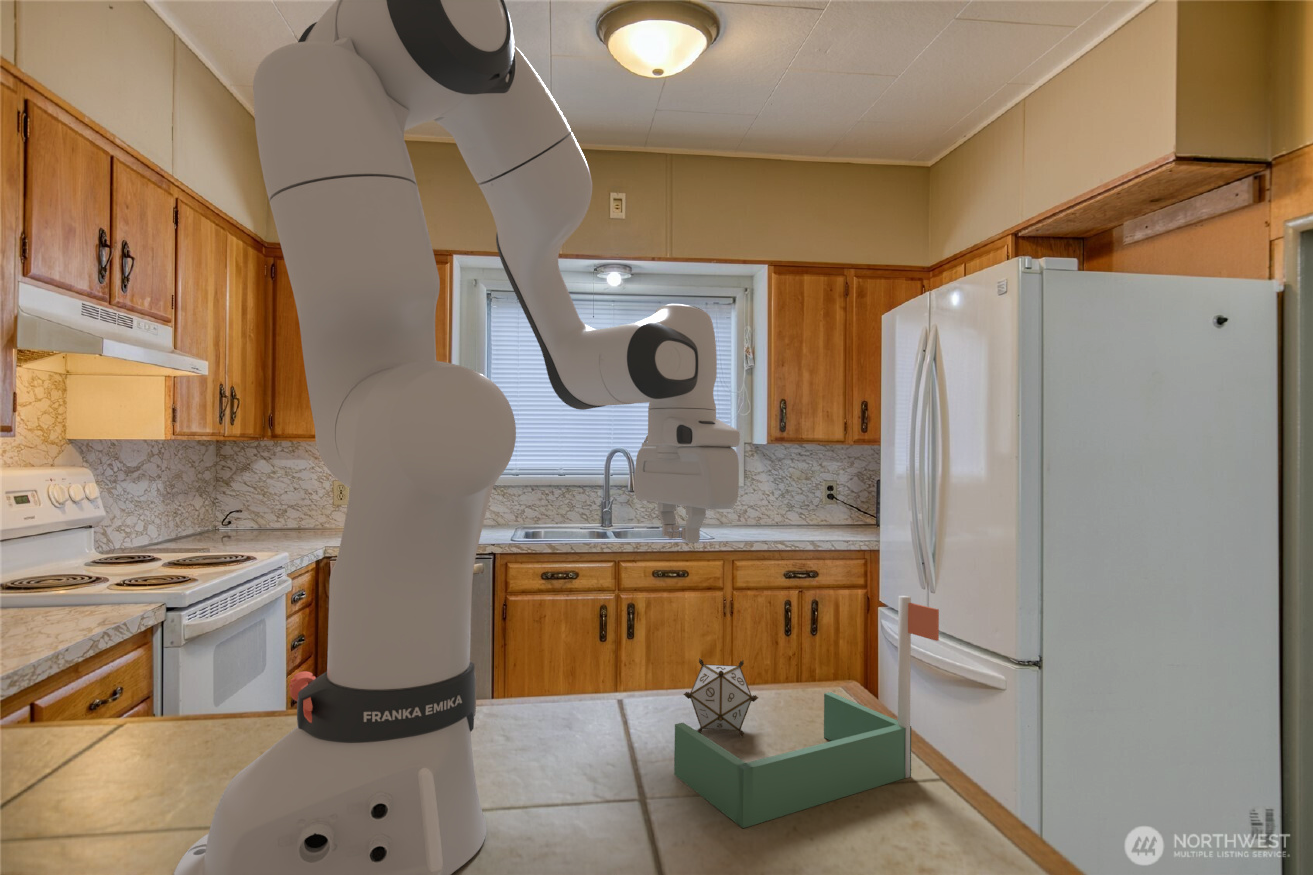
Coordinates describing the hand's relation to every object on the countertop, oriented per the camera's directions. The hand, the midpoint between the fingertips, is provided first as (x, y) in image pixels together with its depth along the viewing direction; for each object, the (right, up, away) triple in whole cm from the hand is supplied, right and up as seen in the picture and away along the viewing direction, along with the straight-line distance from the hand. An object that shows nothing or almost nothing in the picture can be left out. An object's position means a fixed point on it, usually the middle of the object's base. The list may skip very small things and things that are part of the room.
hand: (680, 540), depth 90 cm
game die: (+4, -21, -9) cm, 23 cm away
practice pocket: (+12, -21, -21) cm, 32 cm away
